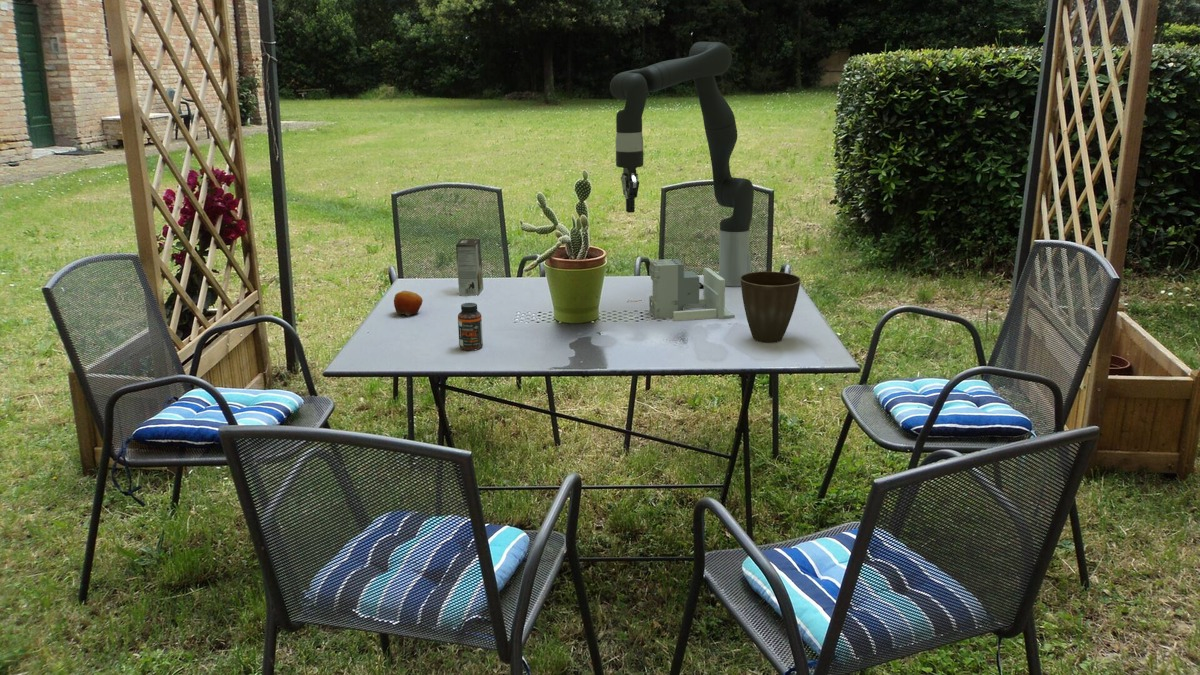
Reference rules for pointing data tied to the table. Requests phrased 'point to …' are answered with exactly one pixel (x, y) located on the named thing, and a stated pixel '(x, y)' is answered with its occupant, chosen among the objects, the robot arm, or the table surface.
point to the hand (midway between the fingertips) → (630, 212)
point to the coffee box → (469, 267)
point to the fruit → (407, 303)
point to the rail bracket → (708, 300)
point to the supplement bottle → (470, 327)
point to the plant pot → (769, 303)
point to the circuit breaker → (672, 287)
